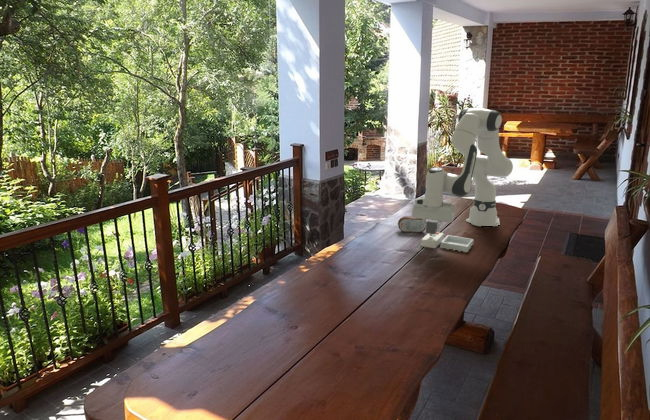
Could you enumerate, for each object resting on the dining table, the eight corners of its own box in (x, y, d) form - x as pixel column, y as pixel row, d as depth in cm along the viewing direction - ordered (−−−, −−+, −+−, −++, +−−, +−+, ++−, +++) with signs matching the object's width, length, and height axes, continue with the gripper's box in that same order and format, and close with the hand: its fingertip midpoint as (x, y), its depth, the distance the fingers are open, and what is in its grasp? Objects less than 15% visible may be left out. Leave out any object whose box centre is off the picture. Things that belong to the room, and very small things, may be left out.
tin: (425, 231, 265) (426, 216, 263) (426, 233, 262) (427, 218, 260) (397, 230, 266) (398, 215, 264) (397, 232, 263) (398, 217, 261)
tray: (447, 240, 251) (447, 235, 250) (473, 244, 245) (473, 239, 244) (440, 247, 240) (440, 242, 239) (467, 252, 234) (467, 246, 233)
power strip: (433, 234, 260) (433, 227, 259) (446, 236, 257) (447, 229, 256) (421, 245, 242) (421, 238, 241) (435, 248, 239) (435, 240, 238)
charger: (428, 233, 246) (429, 219, 244) (436, 234, 244) (437, 221, 242) (425, 235, 242) (426, 222, 240) (434, 236, 240) (435, 223, 238)
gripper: (456, 202, 236) (454, 229, 240) (415, 197, 246) (414, 223, 249) (453, 205, 231) (451, 233, 235) (411, 199, 240) (410, 226, 244)
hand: (431, 228), depth 242 cm, fingers closed on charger, 4 cm apart
